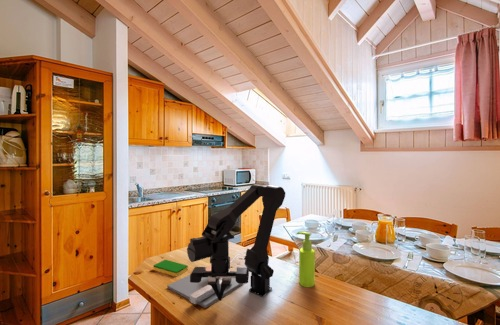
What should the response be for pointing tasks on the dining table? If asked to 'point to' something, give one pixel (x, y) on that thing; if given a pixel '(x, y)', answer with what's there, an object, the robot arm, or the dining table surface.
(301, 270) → the soap dispenser
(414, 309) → the dining table surface
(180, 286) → the base plate
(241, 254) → the butter knife
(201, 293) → the lever
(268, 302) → the dining table surface
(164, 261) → the dish sponge
